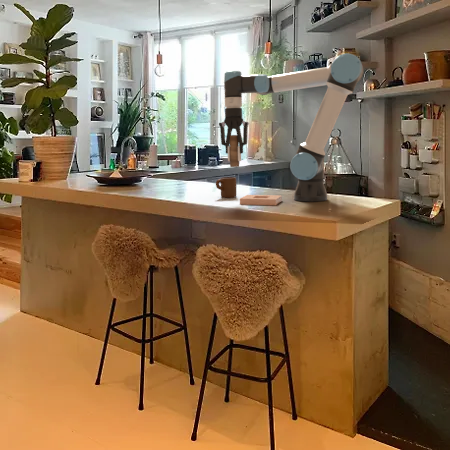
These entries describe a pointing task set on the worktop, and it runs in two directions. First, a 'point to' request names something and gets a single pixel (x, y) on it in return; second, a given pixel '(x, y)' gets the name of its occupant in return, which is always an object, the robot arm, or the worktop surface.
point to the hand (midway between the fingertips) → (234, 160)
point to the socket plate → (261, 199)
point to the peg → (234, 151)
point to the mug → (227, 187)
